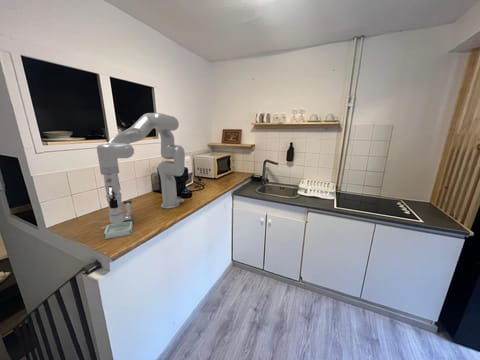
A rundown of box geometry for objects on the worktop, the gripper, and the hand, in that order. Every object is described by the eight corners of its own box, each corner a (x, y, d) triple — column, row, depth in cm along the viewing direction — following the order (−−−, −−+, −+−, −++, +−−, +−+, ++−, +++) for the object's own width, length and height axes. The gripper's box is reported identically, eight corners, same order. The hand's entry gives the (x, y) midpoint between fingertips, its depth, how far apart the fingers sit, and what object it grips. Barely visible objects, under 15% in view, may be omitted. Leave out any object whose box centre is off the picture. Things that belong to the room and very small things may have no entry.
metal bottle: (114, 220, 105) (108, 183, 100) (127, 219, 106) (122, 183, 101) (107, 225, 99) (100, 187, 94) (121, 225, 99) (115, 186, 95)
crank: (131, 220, 112) (129, 207, 110) (122, 222, 110) (120, 209, 108) (133, 211, 124) (131, 199, 122) (124, 212, 123) (123, 201, 121)
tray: (132, 225, 111) (132, 221, 110) (131, 234, 101) (130, 229, 100) (108, 230, 106) (107, 224, 105) (104, 239, 97) (103, 234, 96)
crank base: (134, 220, 117) (133, 217, 117) (133, 225, 112) (133, 221, 111) (101, 225, 111) (101, 222, 110) (99, 230, 105) (98, 227, 105)
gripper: (116, 173, 89) (121, 210, 94) (121, 166, 105) (125, 199, 109) (96, 174, 86) (103, 212, 91) (104, 167, 102) (109, 201, 106)
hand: (115, 205), depth 100 cm, fingers closed on metal bottle, 6 cm apart
